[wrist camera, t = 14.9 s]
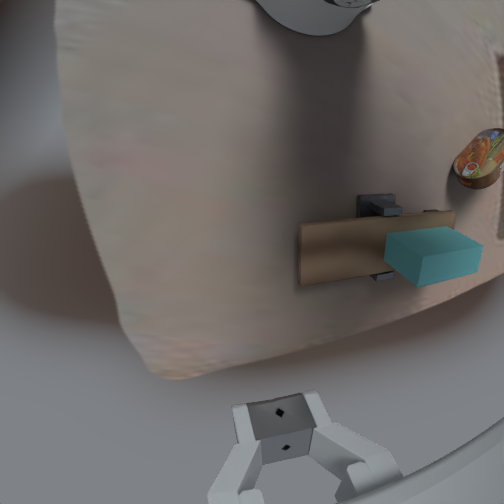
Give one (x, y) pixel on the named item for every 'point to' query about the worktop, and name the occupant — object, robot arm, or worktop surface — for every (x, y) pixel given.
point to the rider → (432, 254)
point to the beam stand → (379, 207)
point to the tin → (481, 160)
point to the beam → (355, 244)
